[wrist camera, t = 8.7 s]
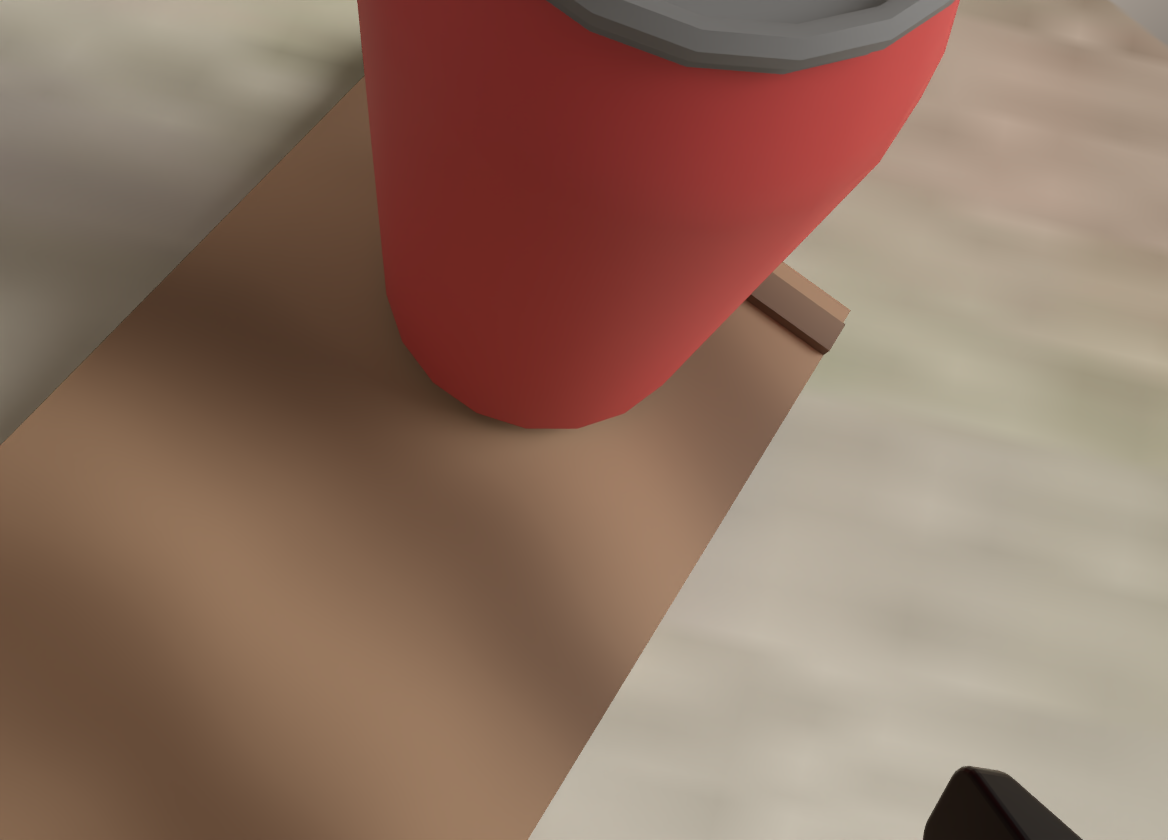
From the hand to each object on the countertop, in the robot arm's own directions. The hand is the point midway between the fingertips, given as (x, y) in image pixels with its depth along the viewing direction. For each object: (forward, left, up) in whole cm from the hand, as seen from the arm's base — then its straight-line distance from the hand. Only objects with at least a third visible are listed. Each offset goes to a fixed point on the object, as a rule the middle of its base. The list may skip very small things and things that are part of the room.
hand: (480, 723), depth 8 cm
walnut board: (+2, +3, -11) cm, 11 cm away
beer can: (+8, +3, -9) cm, 13 cm away
